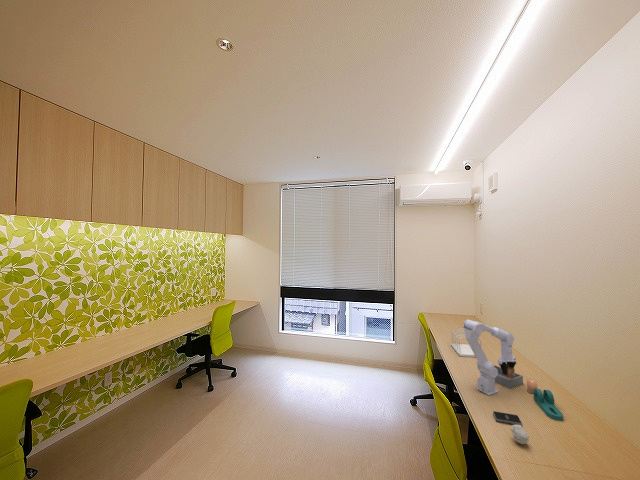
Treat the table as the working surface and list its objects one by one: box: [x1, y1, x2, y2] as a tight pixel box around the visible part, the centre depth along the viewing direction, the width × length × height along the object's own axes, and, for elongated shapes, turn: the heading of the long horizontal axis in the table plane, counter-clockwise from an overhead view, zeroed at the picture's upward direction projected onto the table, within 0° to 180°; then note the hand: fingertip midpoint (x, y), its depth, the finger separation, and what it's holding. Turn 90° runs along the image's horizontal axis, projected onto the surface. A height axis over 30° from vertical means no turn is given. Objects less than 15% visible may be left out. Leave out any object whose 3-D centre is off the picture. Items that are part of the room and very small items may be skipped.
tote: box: [493, 364, 524, 389], centre depth 173 cm, size 14×18×5 cm
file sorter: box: [450, 328, 482, 358], centre depth 223 cm, size 25×17×16 cm
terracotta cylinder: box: [526, 377, 539, 395], centre depth 158 cm, size 5×5×7 cm
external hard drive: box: [492, 410, 523, 427], centre depth 134 cm, size 7×11×2 cm, turn 68°
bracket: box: [533, 388, 564, 422], centre depth 141 cm, size 18×7×8 cm, turn 161°
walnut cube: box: [501, 366, 516, 378], centre depth 165 cm, size 5×5×5 cm
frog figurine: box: [510, 425, 529, 445], centre depth 118 cm, size 6×7×7 cm
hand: (507, 373), depth 165 cm, fingers closed on walnut cube, 5 cm apart
